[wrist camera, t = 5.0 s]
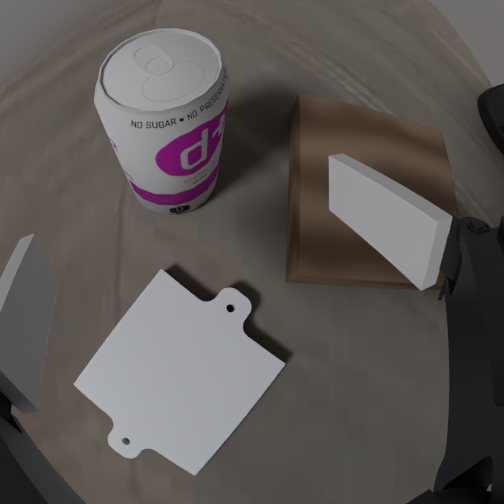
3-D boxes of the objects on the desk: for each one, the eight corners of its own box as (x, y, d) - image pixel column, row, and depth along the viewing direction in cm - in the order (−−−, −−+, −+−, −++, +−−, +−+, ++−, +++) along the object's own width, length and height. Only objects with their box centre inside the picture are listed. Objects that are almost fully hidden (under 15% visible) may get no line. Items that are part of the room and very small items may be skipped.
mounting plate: (179, 483, 24) (178, 492, 22) (67, 399, 24) (59, 403, 22) (296, 338, 28) (302, 339, 27) (181, 250, 29) (180, 245, 27)
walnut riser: (289, 114, 33) (299, 92, 29) (424, 147, 35) (442, 132, 32) (285, 281, 29) (298, 275, 25) (440, 290, 31) (463, 285, 28)
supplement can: (234, 183, 30) (263, 74, 16) (163, 235, 28) (130, 150, 14) (184, 126, 31) (182, 9, 16) (116, 172, 29) (67, 66, 14)
